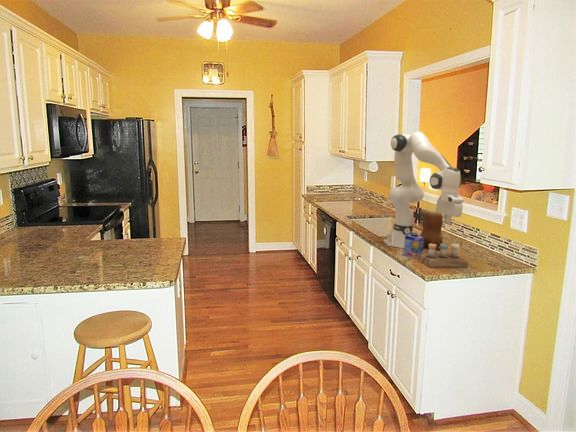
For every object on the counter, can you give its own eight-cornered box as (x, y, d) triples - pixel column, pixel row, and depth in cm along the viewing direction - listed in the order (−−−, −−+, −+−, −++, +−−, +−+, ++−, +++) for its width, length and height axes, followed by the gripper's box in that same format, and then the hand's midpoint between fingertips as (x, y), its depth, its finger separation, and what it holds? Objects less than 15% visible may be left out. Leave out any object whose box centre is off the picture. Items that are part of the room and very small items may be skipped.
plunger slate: (437, 255, 242) (438, 243, 241) (444, 255, 243) (445, 243, 242) (441, 257, 238) (442, 245, 237) (448, 257, 239) (449, 245, 238)
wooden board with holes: (417, 260, 246) (418, 253, 245) (452, 260, 250) (453, 253, 250) (430, 267, 232) (431, 260, 232) (467, 267, 237) (467, 260, 236)
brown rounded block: (438, 246, 285) (442, 209, 280) (443, 251, 272) (448, 212, 267) (417, 245, 286) (420, 207, 282) (421, 249, 273) (425, 210, 269)
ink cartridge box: (402, 255, 257) (405, 231, 254) (406, 253, 261) (409, 230, 259) (418, 258, 251) (421, 234, 248) (422, 257, 255) (425, 233, 253)
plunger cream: (448, 255, 244) (450, 243, 242) (455, 255, 244) (456, 243, 243) (452, 257, 240) (454, 245, 239) (459, 257, 241) (460, 245, 239)
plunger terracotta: (426, 255, 241) (427, 243, 240) (432, 255, 242) (434, 243, 240) (429, 257, 237) (431, 245, 236) (436, 257, 238) (437, 245, 237)
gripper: (434, 195, 244) (431, 219, 247) (454, 199, 225) (452, 225, 227) (444, 195, 246) (441, 219, 248) (465, 200, 226) (462, 226, 228)
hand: (446, 222), depth 237 cm, fingers closed
